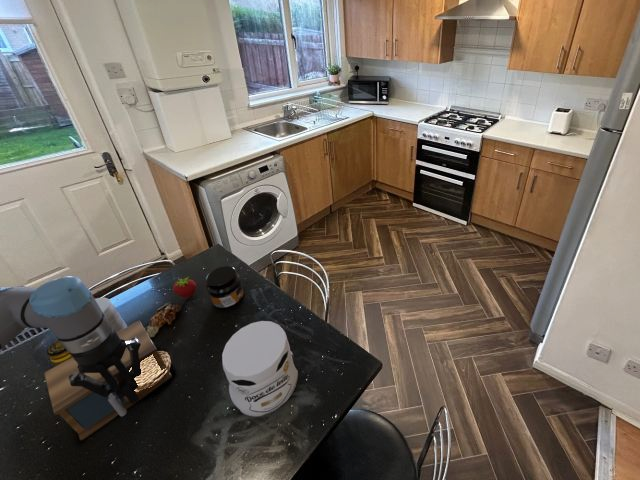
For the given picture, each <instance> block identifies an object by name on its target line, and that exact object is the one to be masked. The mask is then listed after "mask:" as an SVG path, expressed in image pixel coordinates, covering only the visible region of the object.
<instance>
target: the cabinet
mask: <svg viewBox="0 0 640 480" xmlns="http://www.w3.org/2000/svg"><path fill="white" fill-rule="evenodd" d="M144 328H145V327H144V326H143V323H142V322H141V320H136V321H135V322H133V323H131V324H129V325H127V327H126V328H124V329H122V330H121V331H119V332H117V335H118V336H119V338H120V339H123V340H125V342H126V341H131V340H132V339H133V338H135V337H137V338H138V340H139V342H140V344H141V345H140V348H139V351H138V353H139V361H140V362H141V361H142V360H144V359H145V358H147V357H149V356H150V355H152V354H153V356H154V358H155V359H156V361H157V363H158V365H159V366H160V368H161V370H163V369H165V368H167V369H168V366H167V365H166V363H165V362H164V360H163V358H162V356H161V355H160V353H159V351H158V349H157V347H156V345H155V344H154V341H152V339H151V337H149V336H148V334H147V332H146V331H145V329H144ZM121 360H122V362H123V363H124V365H125V366H126V368H127V369H128V371H129V370H130V368H131V359H130V352H129V350H128V349H127V348H126V349H125V352H124V354H123V356H122V359H121ZM77 370H78V363H77V362H76V361H75V360H74V358H73V357H72V358H70V359H68V360H67V361H65V362H63V363H61V364H59V365H57V366H56V367H55V366H53V367H52V368H50V369H48V370H46V371H45V372H44V373H43V374H44V379H45V382H46V387H47V391H48V395H49V399H50V403H51V407H52V411H53V415H55V416H57V415H59V416H60V417H61V418H62V419H63V420H64V421H65V422H66V423H67V424H68V425H69V426H70V427H71V428H72V429H73V430H74V431H75V433H77V434H78V438H79V440H80V441H83V440H85V439H86V438H88V437H89V436H90V435H92V434H93V433H95V432H96V431H97V430H100V429H101V428H102V427H104V426H105V425H107V424H108V423H109V422H111V421H112V420H113V419H115V418H116V417H117V416H120V415H119V414H118V413H117V411H116V410H114V411H113V412H111V413H110V414H108V415H107V416H106V417H104V418H103V419H101V420H100V421H98V422H97V423H95V424H94V425H92V426H91V427H90V428H88V429H87V430H85V429H84V427H83V426H82V425H81V424H80V423H79V422H78V421H77V420H76V419H75V418H74V417H73V416H72V415H71V414H70V413H69V412H68V411H67V409H66V408H68V407H70V406H71V405H73V404H74V403H76V402H77V401H79V400H81V399H82V398H84V397H85V396H87V395H89V394H90V393H92V391H90V390H88V389H86V388H84V387H81V386H71V384H70V381H69V376H70V375H71V374H74V373H76V372H77ZM109 370H110V372H111V373H112V374H113V376H114V377H116V378H117V380H118V381H119V382H120V381H122V380H123V379H124V378H123V376H122V375H121V374H120V372H119V371H118V369H116V367H115V366H111V367H110V368H109ZM85 375H87V376H89V377H91V378H93V379H95V380H97V381H99V382H101V383H103V384H106V383H107V382H106V380H105V379H104V378H103V377H102V376H101V374H100V373H85ZM171 378H173V375H172V374H171V372H170V371H168V372H167V373H166V374H165V375H164V377H163V378H162V379H161V381H159V382H158V383H157V384H156V385H154V386H152V387H150V388H146V389H143V390H140V391H139V392H136V394H137V396H138V398H139V400H138V401H137V402H139V401H140V400H142V399H143V398H145V397H146V396H148V395H149V394H150V393H152V392H153V391H155V390H156V389H157V388H160V387H161V386H162V385H163V384H165V383H166V382H167V381H169V380H170V379H171ZM137 402H135V403H134V404H131V402H130V401H127V402H126V403H124V404H123V407H124V408H125V409H126V410H128V409H129V408H131V407H132V406H133V405H135V404H136V403H137Z"/></svg>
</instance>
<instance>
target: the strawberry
mask: <svg viewBox="0 0 640 480" xmlns="http://www.w3.org/2000/svg"><path fill="white" fill-rule="evenodd" d="M190 276H191V275H188V276H187V277H184V278H179V279H178V280H177V281H175V283H174V284H173V286H172V289H173V292H174V293H175V294H176V295H177V296H178V297H182V298H184V299H188V300H189V299H191V298H192V297H193V295H194V294H195V292H196V290H197V283H196V282H195V281H194V280H193V279H192V278H190Z"/></svg>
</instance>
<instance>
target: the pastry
mask: <svg viewBox="0 0 640 480" xmlns="http://www.w3.org/2000/svg"><path fill="white" fill-rule="evenodd" d="M180 311H181V306H180V305H178V303H175V304H172V303H168V302H166V303H165V304H163V305H162V306H161V307H159V308H157V309H156V311H155V315H153V316H152V317H151V318H150V320H149V324H148V325H146V326H145V327H144V329H145V331H146V332H147V334H148V336H149V337H150V338H154V337H155V336H156V334H157V333H158V332H159V329H160V328H162V327H163V326H164V325H165V324H166V323H167V324H168V326H169V325H172V321H174V320H175V319H176V314H177V312H180Z"/></svg>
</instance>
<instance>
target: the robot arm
mask: <svg viewBox="0 0 640 480" xmlns="http://www.w3.org/2000/svg"><path fill="white" fill-rule="evenodd" d="M95 299H96V298H95V297H94V296H93V294H92V291H91V289H90V288H89V287H87V286H86V285H85V283H84V281H83V280H81V279H80V278H79V277H77V276H71V275H67V276H62V277H60V278H54V279H53V278H52V279H51V280H49V281H46V282H44V283H43V284H41V285H40V286H38V287H34V286H33V287H30V286H25V285H23V286H21V285H20V286H19V285H17V286H9V287H0V351H1V350H2V349H3V348H5V347H6V346H7V345H8V344H10V342H12V341H13V340H14V339H15V338H17V337H18V336H19V335H20V334H22V332H24V331H25V330H26V329H48V330H50V331H51V332H52V334H53V335H54V336H55V337H56V338H57V340H59V341H60V342H61V343H62V344H63V346H64V347H65V348H66V350H67V351H68V352H70V355H71V356H72V357H73V358H74V360H75V361H76V362H77V363H78V370H77V372H76V373H74V374H71V375H70V376H69V381H70V384H71V386H81V387H84V388H86V389H88V390H90V391H92V392H94V393H96V394H98V395H101V396H103V397H107V396H109V395H110V393H113V392H115V393H116V394H117V396H118V397H119V398H121V399H122V398H123V397H124V396H126V397H127V398H128V400H129V401H130V402H131V404H133V405H135V404H136V403H138V402H139V401H140V400H139V398H138V396H137V394H136V392H135V391H134V390H135V389H136V388H138V385H137V383H136V381H135V380H134V378H135V377H136V376H139V375H140V374H141V369H140V361H139V353H138V351H139V348H140V345H141V344H140V342H139V340H138V338H137V337H135V338H133V339H132V340H131V341H126V342H125V340H123V339H120V338H119V336H118V335H117V333H116V332H115V330H114V329H113V327H112V325H111V324H110V322H109V321H108V319H107V318H106V316H105V314H104V313H103V312H102V310H101V309H100V307H99V305H98V304H97V302H96V300H95ZM126 348H127V349H128V350H129V352H130V359H131V367H132V370H131V371H130V372H129V371H128V369H127V368H126V366H125V365H124V363H123V362H122V360H121V359H122V356H123V354H124V352H125V349H126ZM111 366H115V367H116V369H118V371H119V372H120V374H121V375H122V376H123V378H124V379H123V380H122V381H120V382H118V381H117V379H115V377H114V376H113V374H112V373H111V372H110V370H109V368H110V367H111ZM85 373H100V374H101V376H102V377H103V378H104V379H105V380H106V382H107V383H108V384H109V385H108V386H107V385H105V384H103V383H101V382H99V381H97V380H95V379H93V378H91V377H89V376H87V375H85ZM138 400H139V401H138ZM135 402H136V403H135ZM134 403H135V404H134Z"/></svg>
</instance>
